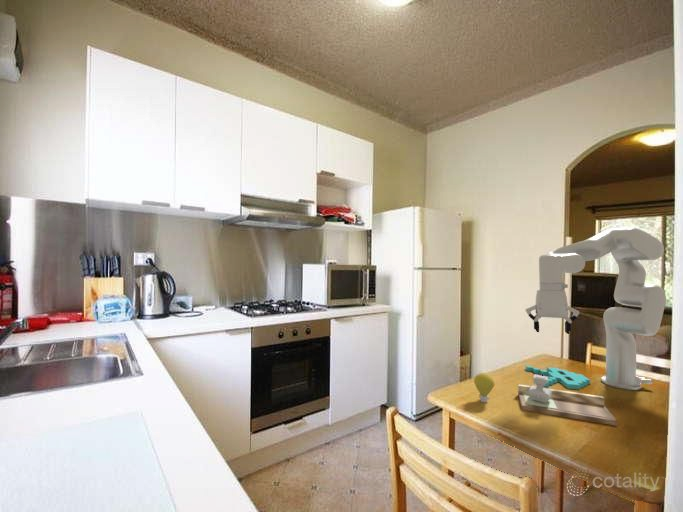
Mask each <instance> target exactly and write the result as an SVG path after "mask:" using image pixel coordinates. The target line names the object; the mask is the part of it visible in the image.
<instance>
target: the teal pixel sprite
mask: <svg viewBox="0 0 683 512" xmlns="http://www.w3.org/2000/svg"><path fill="white" fill-rule="evenodd" d="M525 371H526V372H532V371H533V373H534V374H538V373H539V374H538V375H541V376H542V375H543V376H547V377H548V380H547V384H545V386H544V385H543V388H549V387H550V386H554V385H555V384H558V383H561V384H562V385H563V386H564V387H565V388H566V389H571V390H581V388H585V387H588V385H591V380H590V379H589V378H588V377H586V376H585V375H583V374H582V373H576V372H573V371H568V370H566V369H560V368H559V367H551V366H550V367H549V366H547V367H546V369H540V368H539V367H533V366H531V365H525Z"/></svg>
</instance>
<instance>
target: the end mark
mask: <svg viewBox="0 0 683 512" xmlns="http://www.w3.org/2000/svg"><path fill="white" fill-rule="evenodd" d="M523 394H524V397H525V401H526V404H529V405H536V406H542V407H548V408H554V409H557V407H556V405H555V403H554V401H553V399H552V397H550V399H549V400H548V401H547V402H546V403H543V402H539V401H535V400H532V399H531V398H530V396H529V395H528V394H527V393H523Z"/></svg>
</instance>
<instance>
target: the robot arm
mask: <svg viewBox="0 0 683 512" xmlns="http://www.w3.org/2000/svg"><path fill="white" fill-rule="evenodd" d="M664 251H665V247H664V244H663V243H662V241H660V239H659V238H656V237H655V236H654V235H652V234H650V233H648V232H646V231H644V230H642V229H640V228H637V227H619V228H609V229H608V228H607V229H605V230H602V231H600V232H599V233H597V234H595V235H593V236H591V237H589V238H587V239H585V240H582V241H581V240H580V241H578V242H575V243H572V244H571V243H570V244H568V245H563V246H561V247H558V248H555V249H554V250H552V251H550V252H547V254H542V255H540V256H539V258H538V273H539V275H538V276H539V277H538V278H539V289H537V290H536V294H535V295H536V296H535V304H534V305H532V306H530V307H527V308H525V312H526V314H527V316H528V317H529V318H530V319H531V320H532V321H533V329H534V330H535V332H536V333H540V322H539V320H540V319H541V318H552V319H554V318H556V319H564V320H565V322H564V332H565V333H566V334H567V335H570V332H572V323H573V322H574V321H575V320H577V317H578V316H579V315H580V311H579V310H577V309H575V308H573V307H571V306H569V305H568V304H569V303H568V297H567V292H566V291H565V290H564V289H568V287H569V284H568V283H567V284H566V283H564V274H577V273H579V272H582V270H584V269H585V266H586V262H588V261H589V262H590V261H594V260H599V259H602V257H604V256H606V255H608V254H611V255H612V257H613V258H614V260H615V262H616V264H617V267H618V277H617V280H616V284H615V288H614V293H613V298H614V301H615V302H616V303H618V304H620V305H624V306H629V307H637V308H641V309H633V308H628V307H622V306H621V307H620V306H614V307H611V306H610V307H609V308H607V309H606V310H605V311H604V312H603V317H602V319H603V322H604V328H605V335H606V337H605V339H606V340H605V341H606V343H605V351H606V352H605V353H606V354H605V375H603V376H601V377H600V381H601V382H602V383H604V384H605V385H608V386H611V387H613V388H618V389H622V390H628V391H639V390H641V389H642V385H643V384H646V385H652V384H653V381H652V379H650V378H646V377H641V376H638V375H637V341H636V339H635V337H634V336H633V334H636V335H639V336H640V335H641V336H645V337H646V336H647V337H651V336H652V337H653V336H655V335H656V334H657V333H658V332H659V330H660V327H661V324H662V320H663V317H664V316H663V315H664V310H665V307H666V301H667V296H666V295H667V294H666V292H665V290H664V289H663V288H662V287H661V286H659V285H657V284H652V283H645V282H646V278H647V272H646V268H645V267H644V266H643V264H642V263H641V262H640V261H655V260H658V259H660V258H661V257H662V256H663V255H664ZM532 311H535V315H533V313H532ZM569 312H572V315H571V316H569Z"/></svg>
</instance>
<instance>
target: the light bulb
mask: <svg viewBox="0 0 683 512" xmlns="http://www.w3.org/2000/svg"><path fill="white" fill-rule="evenodd" d="M473 383H474V385H475V388H476V389H477V391H478V392H479V394H478V398H479V399H480V402H481V403H488V400H489V399H490V398H489V397H490V396H489V394H490V393H491V391H492V390H493V388H494V387H495V380H494V378H493V377H492V376H491V375H490V374H489V373H486V372H480V373H478V374H476V375H475V377H474V379H473Z"/></svg>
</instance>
